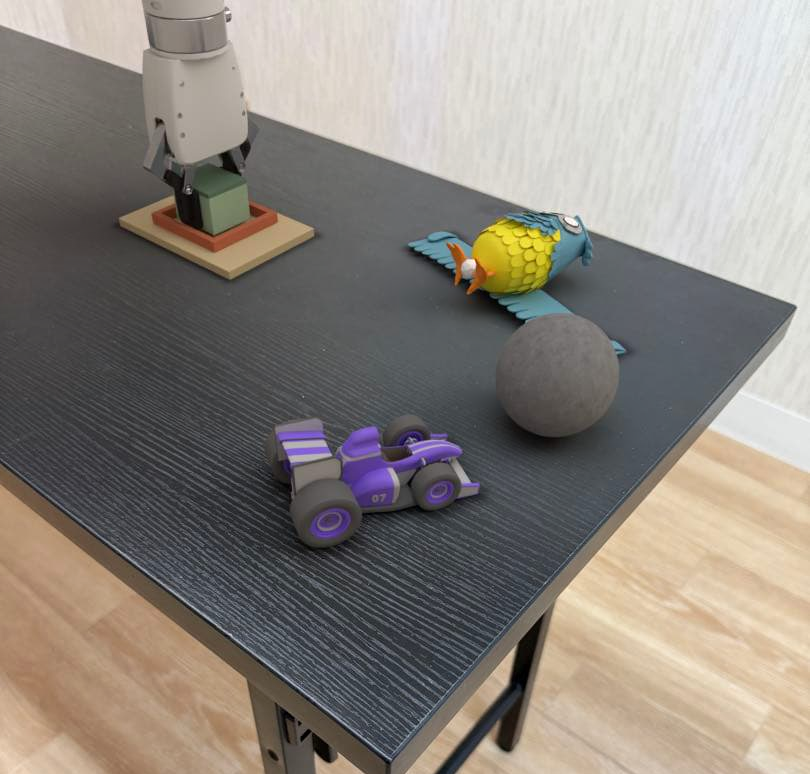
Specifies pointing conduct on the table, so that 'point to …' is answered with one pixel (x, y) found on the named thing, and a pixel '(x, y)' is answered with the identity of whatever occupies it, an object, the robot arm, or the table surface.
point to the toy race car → (362, 474)
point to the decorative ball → (557, 375)
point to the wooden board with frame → (219, 237)
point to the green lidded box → (220, 198)
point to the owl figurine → (516, 259)
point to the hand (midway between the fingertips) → (213, 213)
